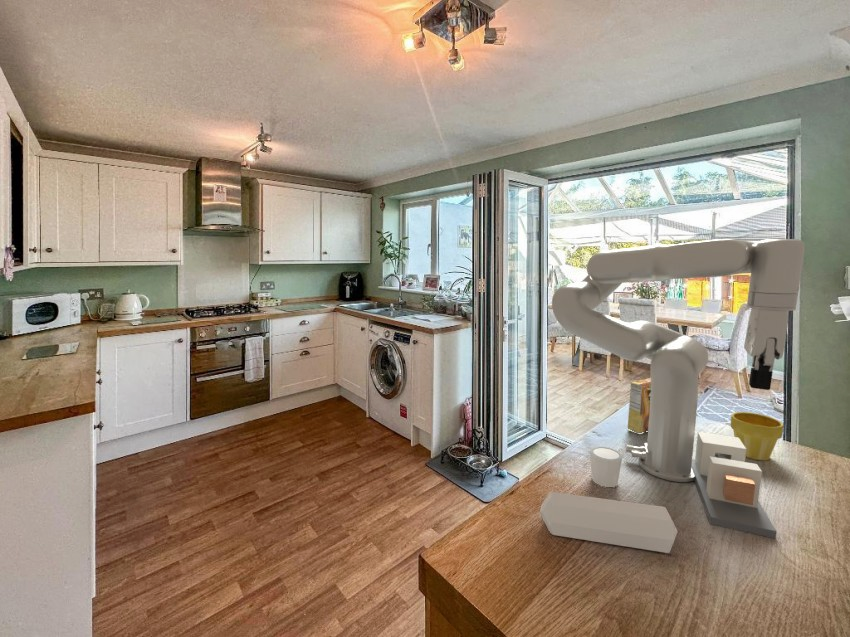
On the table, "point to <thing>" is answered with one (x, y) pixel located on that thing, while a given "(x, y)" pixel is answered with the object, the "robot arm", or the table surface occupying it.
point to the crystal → (609, 521)
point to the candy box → (639, 405)
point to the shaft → (737, 487)
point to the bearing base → (733, 512)
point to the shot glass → (605, 466)
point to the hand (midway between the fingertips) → (759, 387)
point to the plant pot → (756, 433)
